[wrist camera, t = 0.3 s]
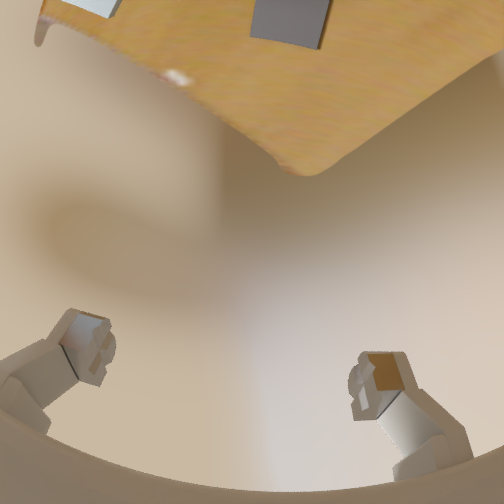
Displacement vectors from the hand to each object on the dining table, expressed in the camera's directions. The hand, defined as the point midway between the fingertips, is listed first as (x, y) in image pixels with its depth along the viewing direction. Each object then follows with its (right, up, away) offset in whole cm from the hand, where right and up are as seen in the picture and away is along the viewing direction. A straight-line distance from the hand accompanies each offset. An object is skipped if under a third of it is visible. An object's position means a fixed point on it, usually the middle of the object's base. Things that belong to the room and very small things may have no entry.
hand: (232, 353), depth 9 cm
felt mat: (+7, +44, +28) cm, 53 cm away
